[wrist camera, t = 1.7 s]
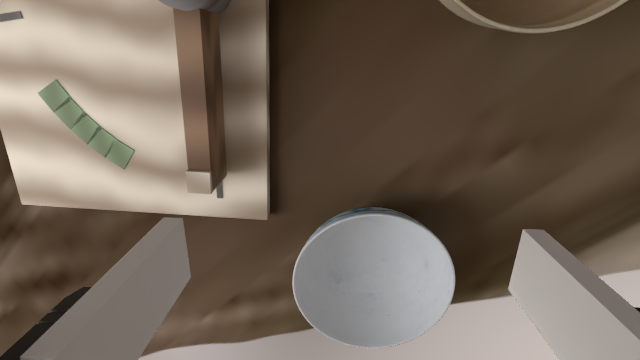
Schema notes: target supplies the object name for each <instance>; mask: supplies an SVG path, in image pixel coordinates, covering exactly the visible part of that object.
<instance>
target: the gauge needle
mask: <svg viewBox="0 0 640 360" xmlns="http://www.w3.org/2000/svg"><path fill="white" fill-rule="evenodd" d="M159 1H160V2H161V3H163V4H165V5H166V6H169V7H171V8H173V14H174V25H175V35H176V46H177V57H178V67H179V78H180V89H181V100H182V110H183V121H184V132H185V143H186V153H187V164H188V170H187V171H186V181H187V191H188V193H200V194H212V193H213V191H214V190H215V189H216V187H217V186H218V185H219V184H220V183H221V182H222V181H223V179H224V178H225V177H226V176H227V169H226V150H225V130H224V111H223V91H222V72H221V53H220V33H219V13H221V12H222V11H224V10H225V9H226V8H227V6H228V5H229V3H230V2H231V0H159Z"/></svg>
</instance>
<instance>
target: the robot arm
mask: <svg viewBox="0 0 640 360" xmlns="http://www.w3.org/2000/svg"><path fill="white" fill-rule="evenodd" d="M190 278H191V274H190V267H189V260H188V253H187V246H186V238H185V231H184V224H183V218H163V219H162V220H161V221H160V222H158V223H157V224H156V225H155V226H154V227H153V228H152V229H151V230H150V231H149V232H148V233H147V234H146V235H145V236H144V237H143V238H142V239H141V240H140V241H139V242H138V243H137V244H136V245H135V246H134V247H133V248H132V249H131V250H130V251H129V252H128V253H127V254H126V255H125V256H123V257H122V258H121V259H120V260H119V261H118V262H117V263H116V264H115V265H114V266H113V267H112V268H111V269H110V270H109V271H108V272H107V273H106V274H105V275H104V276H103V277H102V278H101V279H100V280H99V281H98V282H97V283H96V284H95V285H94V286H93V287H83V288H81V289H79V290H77V291H76V292H74V293H72V294H71V295H69V296H67V297H65V298H64V299H63V300H62V301H61V302H60V303H59V304H58V305H57V306H55V307H54V308H53V309H52V310H51V313H48V314H47V315H46V316H45V317H43V318H42V319H41V320H40V321H39V324H36V325H35V326H34V327H33V328H31V329H30V330H29V331H28V332H27V333H26V334H25V335H24V336H23V337H22V338H20V339H19V340H18V341H17V342H16V343H15V344H14V345H13V346H12V347H11V348H10V349H8V350H7V351H6V352H5V353H4V354H3V355H2V356H1V357H0V360H138V359H139V357H140V356H141V354H142V353H143V351H144V350H145V348H146V346H147V345H148V343H149V342H150V340H151V339H152V337H153V336H154V334H155V332H156V331H157V329H158V328H159V326H160V325H161V323H162V321H163V320H164V318H165V317H166V315H167V314H168V312H169V310H170V309H171V307H172V306H173V304H174V303H175V301H176V300H177V298H178V296H179V295H180V293H181V292H182V290H183V289H184V287H185V285H186V284H187V282H188V281H189V279H190ZM508 290H509V291H510V292H511V294H512V295H513V297H515V299H516V301H517V302H518V303H519V305H520V306H521V307H522V309H523V310H524V312H525V313H526V314H527V316H528V317H529V319H530V320H531V321H532V323H533V324H534V326H535V327H536V328H537V330H538V331H539V332H540V334H541V335H542V336H543V338H544V339H545V341H546V342H547V343H548V345H549V346H550V348H551V349H552V350H553V352H554V353H555V354H556V356H557V357H558V359H559V360H640V308H635V307H633V306H631V305H630V304H629V303H628V302H627V301H626V300H624V299H623V298H622V297H621V296H620V295H619V294H618V293H616V292H615V291H614V290H613V289H612V288H610V287H609V286H608V285H607V284H606V283H605V282H604V281H602V280H601V279H600V278H599V277H598V276H597V275H595V274H594V273H593V272H592V271H591V270H590V269H588V268H587V267H586V266H585V265H584V264H583V263H581V262H580V261H579V260H578V259H577V258H576V257H574V256H573V255H572V254H571V253H570V252H569V251H568V250H566V249H565V248H564V247H563V246H562V245H561V244H559V243H558V242H557V241H556V240H555V239H554V238H552V237H551V236H550V235H549V234H548V233H547V232H545V231H544V230H532V229H523V231H522V235H521V239H520V243H519V247H518V251H517V255H516V259H515V263H514V267H513V271H512V276H511V280H510V284H509V288H508Z"/></svg>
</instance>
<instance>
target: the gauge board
mask: <svg viewBox="0 0 640 360" xmlns="http://www.w3.org/2000/svg"><path fill="white" fill-rule="evenodd" d="M219 33H220V53H221V72H222V91H223V111H224V130H225V150H226V169H227V176H226V177H225V178H224V179H223V181H222V182H221V183H220V184H219V185H218V186H217V187H216V189H215V190H214V191H213V193H212V194H200V193H188V191H187V181H186V171H187V170H188V164H187V153H186V143H185V132H184V121H183V110H182V100H181V89H180V78H179V67H178V57H177V46H176V35H175V25H174V14H173V8H171V7H169V6H166V5H165V4H163V3H161V2H160V1H159V0H0V129H1V132H2V136H3V139H4V143H5V146H6V150H7V153H8V157H9V160H10V164H11V167H12V171H13V174H14V178H15V181H16V185H17V189H18V192H19V196H20V199H21V203H22V204H25V205H41V206H56V207H72V208H88V209H103V210H119V211H134V212H150V213H166V214H181V215H197V216H213V217H228V218H244V219H260V220H268V217H269V215H270V117H269V0H231V2H230V3H229V5H228V6H227V8H226V9H225V10H224V11H222V12H221V13H219Z"/></svg>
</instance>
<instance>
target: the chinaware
mask: <svg viewBox="0 0 640 360" xmlns="http://www.w3.org/2000/svg"><path fill="white" fill-rule="evenodd" d="M454 289H455V270H454V266H453V262H452V260H451V257H450V255H449V253H448V251H447V249H446V248H445V246H444V245H443V244H442V242H441V241H440V240H439V239H438V238H437V237H436V236H435V235H434V234H433V233H432V232H431V231H430V230H429V229H428V228H427V227H425V226H424V225H423V224H421V223H420V222H418V221H417V220H415V219H414V218H412V217H410V216H408V215H406V214H403V213H401V212H398V211H395V210H391V209H387V208H380V207H363V208H357V209H352V210H349V211H346V212H343V213H341V214H339V215H337V216H335V217H333V218H331V219H330V220H328V221H327V222H325V223H324V224H323V225H322V226H320V227H319V228H318V229H317V230H316V231H315V232H314V233H313V235H312V236H311V237H310V238H309V240H308V241H307V242H306V244H305V245H304V247H303V249H302V250H301V252H300V254H299V256H298V259H297V261H296V264H295V267H294V272H293V292H294V297H295V300H296V303H297V305H298V307H299V309H300V311H301V313H302V314H303V316H304V317H305V319H306V320H307V321H308V322H309V323H310V324H311V325H312V326H313V327H314V328H315V329H316V330H318V331H319V332H320V333H322V334H323V335H325V336H327V337H328V338H330V339H332V340H335V341H337V342H339V343H342V344H346V345H349V346H353V347H359V348H385V347H392V346H396V345H400V344H403V343H406V342H408V341H411V340H413V339H415V338H417V337H419V336H421V335H422V334H424V333H425V332H427V331H428V330H429V329H430V328H432V327H433V326H434V325H435V324H436V323H437V322H438V321H439V320H440V319H441V318H442V316H443V315H444V314H445V312H446V311H447V309H448V307H449V305H450V303H451V300H452V298H453V294H454Z"/></svg>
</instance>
